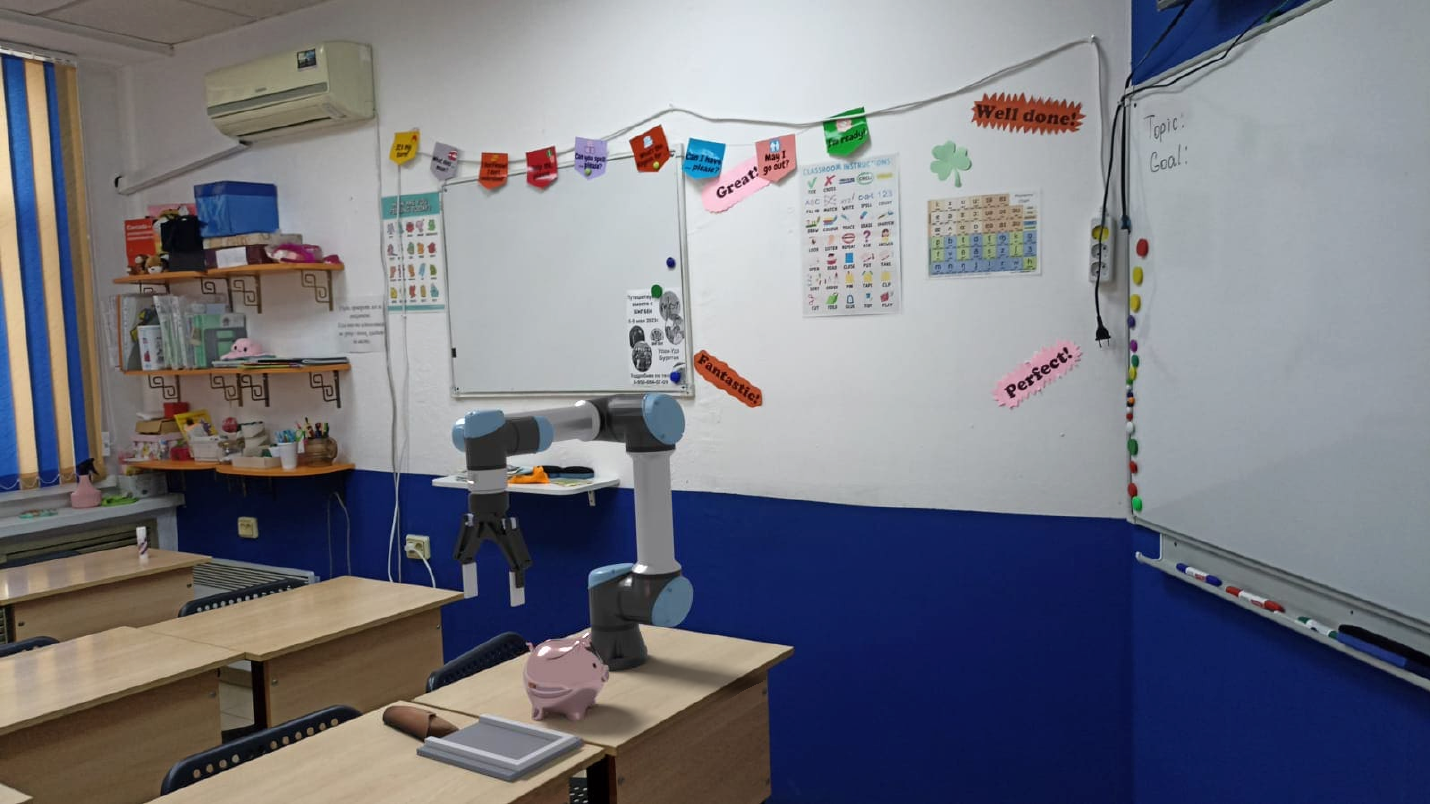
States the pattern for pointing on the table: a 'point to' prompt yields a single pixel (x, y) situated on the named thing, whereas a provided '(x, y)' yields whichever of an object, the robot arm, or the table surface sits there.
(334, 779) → the table surface
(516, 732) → the rail cradle
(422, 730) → the sunglasses case
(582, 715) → the piggy bank
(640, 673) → the table surface
